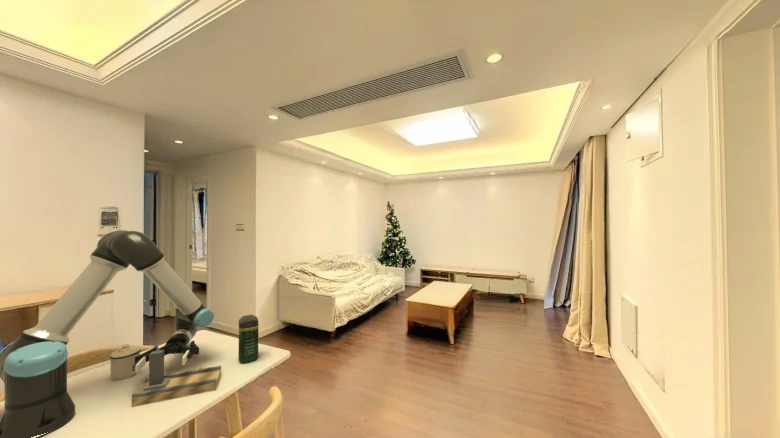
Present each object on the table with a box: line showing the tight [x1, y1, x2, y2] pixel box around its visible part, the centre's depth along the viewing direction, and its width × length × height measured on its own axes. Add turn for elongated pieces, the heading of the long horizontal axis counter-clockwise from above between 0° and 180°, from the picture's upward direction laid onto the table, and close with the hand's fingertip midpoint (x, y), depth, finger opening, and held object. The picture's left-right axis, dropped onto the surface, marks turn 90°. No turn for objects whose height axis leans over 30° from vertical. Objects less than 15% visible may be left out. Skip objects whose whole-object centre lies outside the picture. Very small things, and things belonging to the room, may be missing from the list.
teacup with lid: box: [109, 343, 142, 381], centre depth 114 cm, size 12×9×12 cm
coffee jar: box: [238, 314, 259, 363], centre depth 125 cm, size 10×8×19 cm
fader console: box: [131, 365, 222, 407], centre depth 102 cm, size 24×11×4 cm, turn 112°
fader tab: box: [143, 350, 170, 392], centre depth 100 cm, size 6×5×12 cm
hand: (160, 365), depth 101 cm, fingers open, 13 cm apart
